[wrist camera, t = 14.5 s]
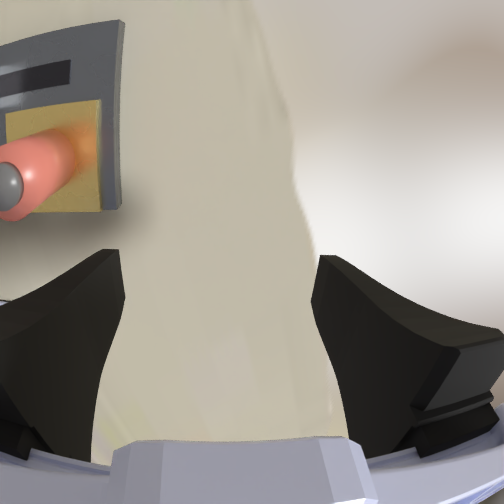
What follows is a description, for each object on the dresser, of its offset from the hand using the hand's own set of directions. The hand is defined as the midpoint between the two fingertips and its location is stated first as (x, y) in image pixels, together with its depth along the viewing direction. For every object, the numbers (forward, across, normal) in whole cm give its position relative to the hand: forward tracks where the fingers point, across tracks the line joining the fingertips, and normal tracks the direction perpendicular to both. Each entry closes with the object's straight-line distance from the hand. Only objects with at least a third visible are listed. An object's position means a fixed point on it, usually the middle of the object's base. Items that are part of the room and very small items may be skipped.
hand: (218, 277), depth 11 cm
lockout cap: (+9, +11, -2) cm, 14 cm away
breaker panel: (+10, +14, -5) cm, 19 cm away
